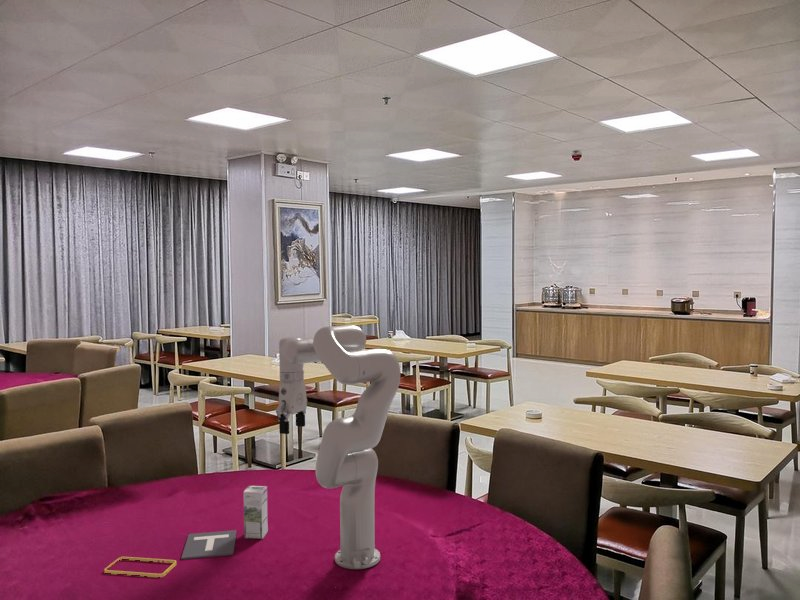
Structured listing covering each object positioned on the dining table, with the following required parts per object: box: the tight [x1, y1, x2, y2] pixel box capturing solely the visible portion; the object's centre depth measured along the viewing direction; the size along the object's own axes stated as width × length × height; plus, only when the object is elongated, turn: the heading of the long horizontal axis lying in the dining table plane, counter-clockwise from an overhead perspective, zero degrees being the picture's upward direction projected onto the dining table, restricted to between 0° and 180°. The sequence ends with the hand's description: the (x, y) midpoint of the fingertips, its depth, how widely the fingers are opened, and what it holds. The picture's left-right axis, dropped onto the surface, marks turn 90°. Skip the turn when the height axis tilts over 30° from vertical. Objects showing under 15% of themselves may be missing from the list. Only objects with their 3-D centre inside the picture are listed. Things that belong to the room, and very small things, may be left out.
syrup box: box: [242, 485, 269, 540], centre depth 191 cm, size 6×6×14 cm
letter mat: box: [180, 529, 237, 560], centre depth 184 cm, size 16×14×1 cm
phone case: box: [103, 556, 177, 578], centre depth 170 cm, size 8×17×1 cm, turn 81°
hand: (292, 429), depth 201 cm, fingers open, 9 cm apart
